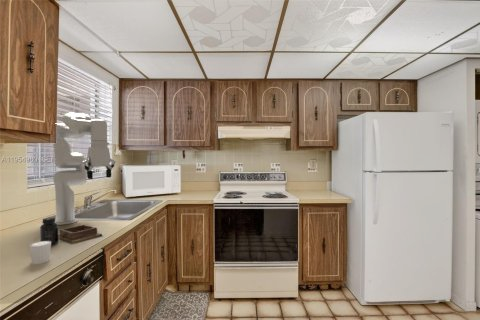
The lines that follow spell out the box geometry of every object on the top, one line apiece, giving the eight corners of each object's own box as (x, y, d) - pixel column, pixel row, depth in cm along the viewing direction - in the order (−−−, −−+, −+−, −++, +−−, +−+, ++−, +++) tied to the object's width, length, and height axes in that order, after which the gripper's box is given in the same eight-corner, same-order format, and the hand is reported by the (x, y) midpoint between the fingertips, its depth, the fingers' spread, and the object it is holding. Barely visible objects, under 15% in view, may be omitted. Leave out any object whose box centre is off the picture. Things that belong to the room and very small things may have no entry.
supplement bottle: (61, 241, 128) (61, 216, 128) (51, 246, 121) (51, 220, 121) (47, 241, 128) (46, 216, 127) (36, 246, 121) (36, 220, 121)
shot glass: (55, 257, 108) (54, 240, 108) (45, 264, 101) (45, 245, 101) (36, 258, 107) (36, 241, 107) (25, 265, 100) (25, 246, 100)
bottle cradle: (54, 237, 134) (54, 229, 134) (83, 230, 146) (83, 223, 146) (73, 243, 125) (72, 235, 124) (102, 235, 136) (102, 228, 136)
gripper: (110, 145, 145) (111, 176, 145) (77, 144, 130) (78, 179, 131) (119, 144, 141) (119, 177, 141) (85, 143, 126) (86, 179, 127)
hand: (99, 178), depth 136 cm, fingers open, 9 cm apart
